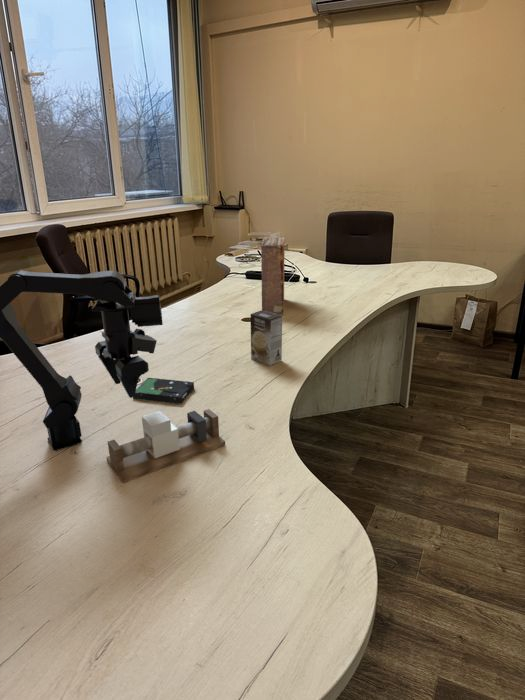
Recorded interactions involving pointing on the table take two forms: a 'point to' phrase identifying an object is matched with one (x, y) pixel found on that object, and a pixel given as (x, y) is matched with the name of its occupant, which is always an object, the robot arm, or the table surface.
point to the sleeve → (160, 434)
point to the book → (273, 274)
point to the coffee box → (266, 337)
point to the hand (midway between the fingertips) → (124, 390)
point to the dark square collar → (198, 425)
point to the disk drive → (164, 390)
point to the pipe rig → (139, 461)
